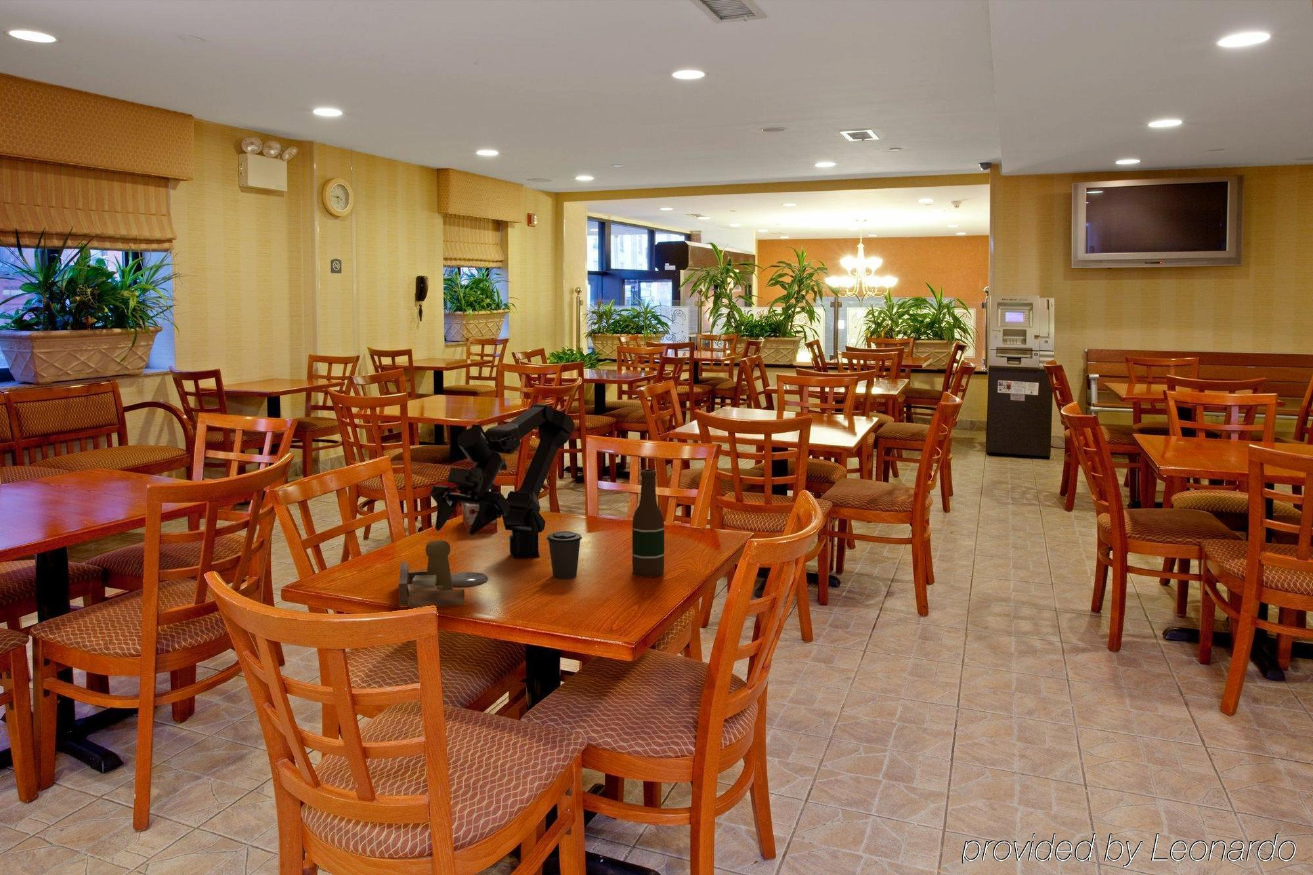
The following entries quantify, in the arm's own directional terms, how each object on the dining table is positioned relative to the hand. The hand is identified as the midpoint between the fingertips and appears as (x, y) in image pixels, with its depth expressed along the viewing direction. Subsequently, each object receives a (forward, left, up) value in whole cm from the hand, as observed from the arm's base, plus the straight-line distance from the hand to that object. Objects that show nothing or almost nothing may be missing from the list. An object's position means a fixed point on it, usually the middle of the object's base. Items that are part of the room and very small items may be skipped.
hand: (453, 531), depth 209 cm
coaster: (-2, -3, -12) cm, 12 cm away
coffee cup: (-25, -1, -12) cm, 27 cm away
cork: (+3, +4, -12) cm, 13 cm away
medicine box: (-8, -53, -12) cm, 55 cm away
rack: (+4, +6, -12) cm, 14 cm away
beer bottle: (-44, +1, -12) cm, 45 cm away
